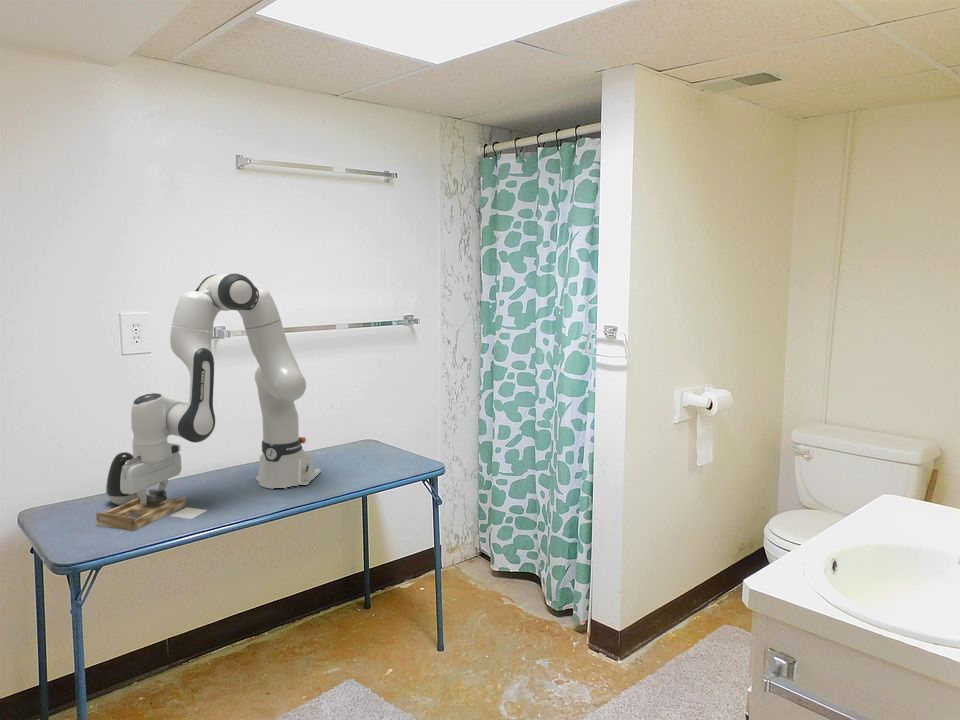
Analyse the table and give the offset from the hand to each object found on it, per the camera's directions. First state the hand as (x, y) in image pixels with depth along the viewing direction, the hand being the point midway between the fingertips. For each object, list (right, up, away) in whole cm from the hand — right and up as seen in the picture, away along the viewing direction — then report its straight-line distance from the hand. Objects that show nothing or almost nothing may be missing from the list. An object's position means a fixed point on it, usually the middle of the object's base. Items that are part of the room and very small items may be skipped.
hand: (153, 499), depth 198 cm
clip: (0, -1, 0) cm, 0 cm away
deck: (-1, -5, -3) cm, 6 cm away
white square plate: (+11, -5, -1) cm, 12 cm away
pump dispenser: (-12, -3, +9) cm, 15 cm away
